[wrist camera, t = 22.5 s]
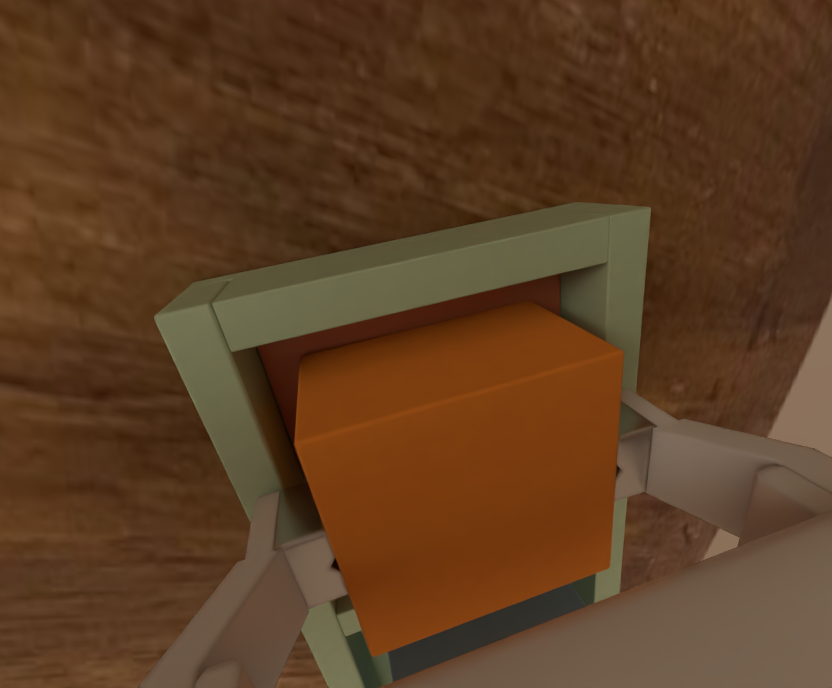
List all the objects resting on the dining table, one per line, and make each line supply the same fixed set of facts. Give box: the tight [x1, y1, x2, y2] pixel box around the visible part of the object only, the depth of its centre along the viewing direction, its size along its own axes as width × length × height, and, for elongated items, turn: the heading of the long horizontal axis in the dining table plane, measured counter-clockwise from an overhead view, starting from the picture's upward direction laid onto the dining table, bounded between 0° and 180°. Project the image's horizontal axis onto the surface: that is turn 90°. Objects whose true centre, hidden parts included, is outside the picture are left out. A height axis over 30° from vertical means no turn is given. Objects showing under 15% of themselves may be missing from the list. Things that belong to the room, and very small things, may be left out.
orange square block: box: [294, 301, 624, 657], centre depth 9 cm, size 6×6×4 cm
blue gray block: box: [388, 583, 586, 682], centre depth 13 cm, size 6×6×4 cm
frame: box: [154, 202, 651, 688], centre depth 13 cm, size 10×19×3 cm, turn 9°
